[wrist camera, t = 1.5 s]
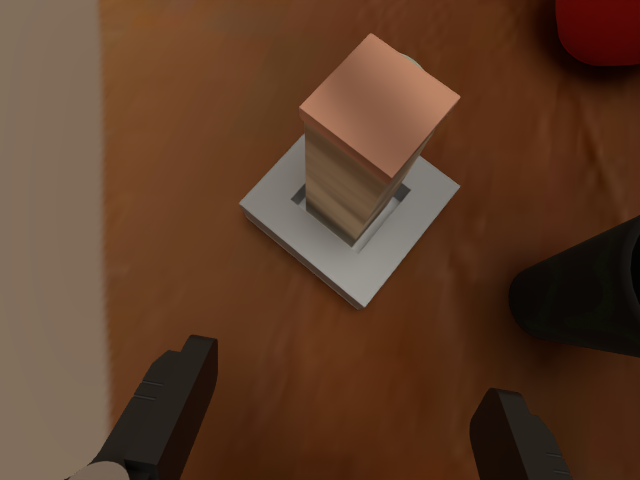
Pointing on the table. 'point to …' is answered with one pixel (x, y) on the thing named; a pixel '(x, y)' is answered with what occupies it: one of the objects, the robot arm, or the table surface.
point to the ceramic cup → (600, 30)
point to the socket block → (326, 247)
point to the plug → (367, 134)
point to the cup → (585, 293)
